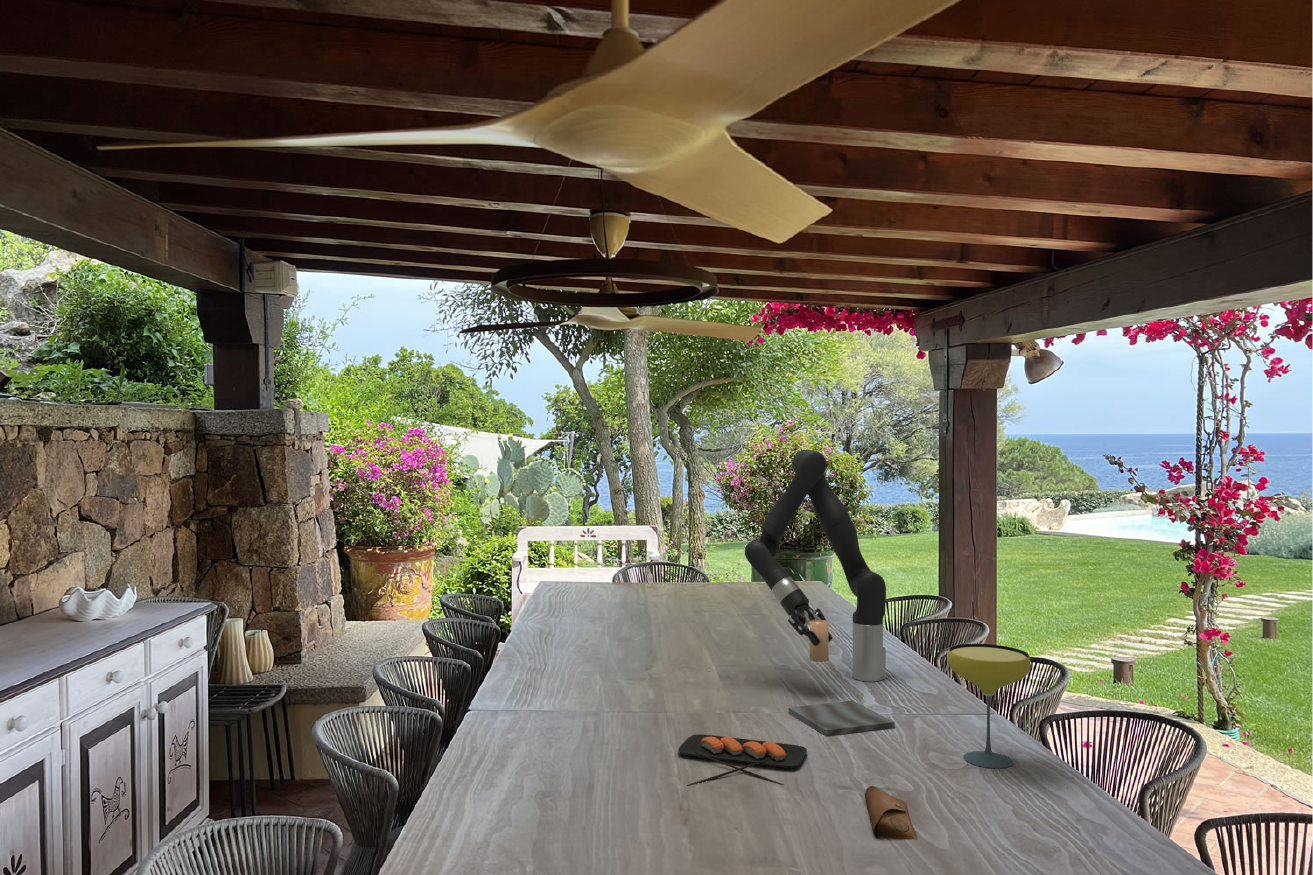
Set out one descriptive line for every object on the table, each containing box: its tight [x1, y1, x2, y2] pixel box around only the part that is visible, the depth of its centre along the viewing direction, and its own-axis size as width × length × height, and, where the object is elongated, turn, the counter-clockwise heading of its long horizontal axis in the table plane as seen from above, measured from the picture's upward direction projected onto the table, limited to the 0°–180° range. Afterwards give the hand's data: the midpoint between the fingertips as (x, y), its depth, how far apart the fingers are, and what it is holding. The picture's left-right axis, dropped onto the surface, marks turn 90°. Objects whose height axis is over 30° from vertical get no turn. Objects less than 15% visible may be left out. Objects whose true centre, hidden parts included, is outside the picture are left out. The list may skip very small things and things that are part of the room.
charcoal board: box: [788, 700, 896, 737], centre depth 237 cm, size 20×20×2 cm
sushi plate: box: [677, 733, 808, 787], centre depth 203 cm, size 29×30×4 cm
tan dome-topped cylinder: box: [808, 619, 830, 663], centre depth 259 cm, size 6×6×11 cm
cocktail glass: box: [946, 643, 1032, 770], centre depth 207 cm, size 18×18×25 cm
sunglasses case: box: [864, 785, 918, 840], centre depth 175 cm, size 18×7×7 cm
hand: (824, 642), depth 258 cm, fingers closed on tan dome-topped cylinder, 5 cm apart
